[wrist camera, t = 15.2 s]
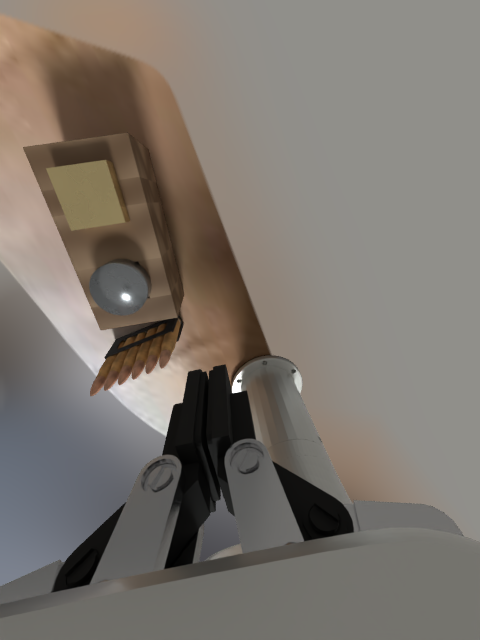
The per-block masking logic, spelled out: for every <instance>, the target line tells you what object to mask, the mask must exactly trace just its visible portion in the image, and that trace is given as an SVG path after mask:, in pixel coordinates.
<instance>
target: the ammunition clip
mask: <svg viewBox="0 0 480 640" xmlns="http://www.w3.org/2000/svg"><path fill="white" fill-rule="evenodd" d="M183 325H184V324H183V322H182V320H181V318H180V317H179V315H178V317H177V318H172V319H166V320H163V321H160V322H158V323H155V324H153V325H151V326H148V327H146V328H143V329H141V330H138V331H136V332H134V333H131V334H129V335H126V336H124V337H121V338H119V339H117V340H115V342H114V343H113V345H112V347H111V348H110V350H109V351H108V353H107V354H106V356H105V359H106V360H105V362H104V363H103V365H102V367H101V368H100V370H99V373H98V375H97V377H96V379H95V381H94V382H93V385H92V387H91V391H90V396H93V395H95V394H96V393H98V392H99V391H100V389H101V388H102V387H103V386H104V390H105V391H106V390H108V389H110V388H111V387H112V386H113V385H114V383H115V382H116V381H117V379H118V384H119V385H121V384H123V383H124V382H125V381H126V380H127V379H128V377H129V376H130V374H131V372H132V379H133V380H134V379H136V378H137V377H138V376H139V375H140V374H141V372H142V371H143V369H144V367H145V365H146V373H147V374H149V373H151V372H152V370H153V369H154V368H155V366H156V364H157V361H158V359H159V357H160V359H159V364H160V367H161V368H164V367H165V366H166V365H167V363H168V361H169V359H170V356H171V354H172V352H173V350H174V348H175V344H176V342H177V341H179V338H180V334H181V331H182V328H183Z"/></svg>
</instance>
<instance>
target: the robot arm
mask: <svg viewBox="0 0 480 640" xmlns="http://www.w3.org/2000/svg"><path fill="white" fill-rule="evenodd" d="M301 389H302V377H301V374H300V372H299V370H298V368H297V367H296V366H295V365H294V364H293V363H292V362H291V361H289V360H288V359H286V358H283V357H279V356H269V355H268V356H261V357H258V358H255V359H253V360H250V361H248V362H247V363H246V364H244V365H243V366H242V367H241V368H240V369H239V370H238V371H237V373H236V374H235V376H234V378H233V381H232V390H231V385H230V381H229V377H228V372H227V368H226V365H220V366H215V367H213V370H211V371H209V379H208V376H207V373H206V372H202V370H201V369H200V370H194V371H189V372H188V376H187V382H186V387H185V393H184V398H183V403H179V404H175V405H174V406H173V410H172V414H171V419H170V423H169V427H168V432H167V436H166V441H165V445H164V450H163V454H162V456H159V457H157V458H155V459H153V460H151V461H150V462H149V463H147V464H146V465H145V466H144V468H143V469H142V470H141V472H140V473H139V475H138V477H137V479H136V481H135V484H134V486H133V488H132V491H131V493H130V495H129V497H128V499H127V502H126V503H125V504H123V505H122V506H121V507H120V508H119V509H118V510H117V511H116V512H115V513H114V514H113V515H112V516H111V517H110V518H109V519H108V520H106V521H105V522H104V523H103V524H102V525H101V526H100V527H99V528H98V529H97V530H96V531H95V532H94V533H93V534H92V535H91V536H89V537H88V538H87V539H86V540H85V541H84V542H83V543H82V544H81V545H80V546H79V547H78V548H77V549H76V550H75V551H74V552H73V553H72V554H71V555H70V556H69V557H68V558H67V560H66V561H65V562H63V563H62V562H61V560H58V561H56V562H53V563H51V564H49V565H47V566H45V567H42V568H41V569H38V570H36V571H34V572H31V573H29V574H27V575H25V576H22V577H20V578H18V579H16V580H14V581H11V582H9V583H7V584H5V585H3V586H0V640H480V542H478V541H476V540H473V539H470V538H467V537H464V536H463V534H462V532H461V531H460V529H459V528H458V526H457V525H456V524H455V522H454V521H453V520H452V519H451V518H450V517H448V516H447V515H446V514H445V513H444V512H442V511H440V510H438V509H436V508H435V507H433V506H428V505H424V504H412V503H393V502H375V501H357V500H354V504H352V502H351V500H350V499H349V497H348V495H347V493H346V491H345V489H344V487H343V485H342V483H341V481H340V479H339V477H338V475H337V473H336V471H335V469H334V467H333V465H332V463H331V460H330V458H329V456H328V454H327V452H326V450H325V448H324V446H323V443H322V441H321V439H320V437H319V434H318V432H317V430H316V428H315V426H314V424H313V422H312V419H311V417H310V415H309V413H308V411H307V409H306V406H305V404H304V402H303V400H302V397H301V395H300V392H301ZM220 487H221V490H222V493H223V497H224V499H225V502H226V505H227V508H228V511H229V512H230V513H231V514H232V515H234V516H235V519H236V523H237V529H238V533H239V538H240V543H241V544H238V545H235V546H232V547H229V548H226V549H224V550H222V551H220V552H217V553H215V554H214V555H212V556H210V557H209V558H208V559H207V560H206V561H203V562H199V559H200V553H201V547H202V540H203V535H204V524H203V523H204V521H206V519H207V518H208V517H209V515H210V513H211V512H215V511H216V501H217V500H220V496H221V495H220Z"/></svg>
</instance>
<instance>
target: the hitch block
mask: <svg viewBox="0 0 480 640" xmlns="http://www.w3.org/2000/svg"><path fill="white" fill-rule="evenodd" d="M23 149H24V151H25V154H26V156H27V158H28V161H29V163H30V165H31V168H32V170H33V172H34V175H35V177H36V179H37V182H38V184H39V187H40V189H41V191H42V194H43V196H44V198H45V201H46V203H47V205H48V208H49V210H50V212H51V215H52V217H53V219H54V222H55V224H56V226H57V229H58V231H59V234H60V236H61V238H62V241H63V243H64V245H65V248H66V250H67V252H68V255H69V257H70V259H71V262H72V264H73V266H74V269H75V271H76V273H77V276H78V278H79V280H80V283H81V285H82V288H83V290H84V292H85V295H86V297H87V299H88V302H89V304H90V306H91V309H92V311H93V313H94V316H95V318H96V320H97V323H98V325H99V327H100V330H106V329H112V328H118V327H124V326H130V325H136V324H142V323H148V322H154V321H160V320H166V319H172V318H177V317H178V314H179V311H180V307H181V304H182V300H183V297H184V293H183V289H182V285H181V281H180V277H179V272H178V268H177V264H176V260H175V256H174V252H173V248H172V244H171V240H170V236H169V232H168V228H167V224H166V220H165V216H164V212H163V207H162V203H161V199H160V195H159V191H158V187H157V183H156V179H155V175H154V171H153V167H152V163H151V159H150V155H149V151H148V149H147V148H146V147H145V146H143V145H142V144H141V143H140V142H138V141H137V140H136V139H135V138H134V137H132V136H131V135H130V134H129V133H121V134H114V135H107V136H100V137H92V138H85V139H78V140H71V141H64V142H57V143H50V144H43V145H35V146H28V147H23ZM101 160H108V161H110V162H113V166H114V169H115V172H116V176H117V179H118V182H119V186H120V189H121V192H122V195H123V199H124V202H125V205H126V209H127V212H128V215H129V219H130V221H129V222H125V223H119V224H112V225H105V226H99V227H92V228H86V229H79V230H73V231H71V229H70V227H69V224H68V222H67V219H66V217H65V214H64V212H63V209H62V207H61V204H60V202H59V199H58V197H57V195H56V192H55V190H54V187H53V185H52V182H51V180H50V177H49V175H48V172H47V170H46V168H52V167H59V166H66V165H73V164H80V163H87V162H94V161H101ZM115 259H129V260H132V261H134V262H136V261H139V264H140V265H141V266H142V267H143V268H144V269H145V270H146V271H147V273H148V275H149V276H150V279H151V284H152V289H151V293H150V295H149V297H148V299H147V300H146V302H145V303H144V305H143V306H142V307H141V308H140V309H139V310H138V311H137V312H135V313H133V314H130V315H124V316H120V315H114V314H111V313H108V312H106V311H105V310H103V309H102V308H100V307H99V306H98V305H97V304H96V303H95V301H94V300H93V298H92V296H91V293H90V290H89V282H90V278H91V276H92V274H93V273H94V272H95V271H96V270H97V269H98V268H99V267H101V266H103V265H105V264H106V263H108V262H110V261H112V260H115Z"/></svg>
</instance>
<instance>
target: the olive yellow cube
mask: <svg viewBox="0 0 480 640" xmlns="http://www.w3.org/2000/svg"><path fill="white" fill-rule="evenodd" d="M46 170H47V172H48V175H49V177H50V180H51V182H52V185H53V187H54V190H55V192H56V195H57V197H58V199H59V202H60V204H61V207H62V209H63V212H64V214H65V217H66V219H67V222H68V224H69V227H70V229H71V231H73V230H79V229H86V228H92V227H99V226H105V225H112V224H119V223H125V222H129V221H130V219H129V215H128V212H127V209H126V205H125V202H124V199H123V195H122V192H121V189H120V186H119V182H118V179H117V176H116V172H115V169H114V166H113V162H110V161H108V160H101V161H94V162H87V163H80V164H73V165H66V166H59V167H52V168H46Z"/></svg>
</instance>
